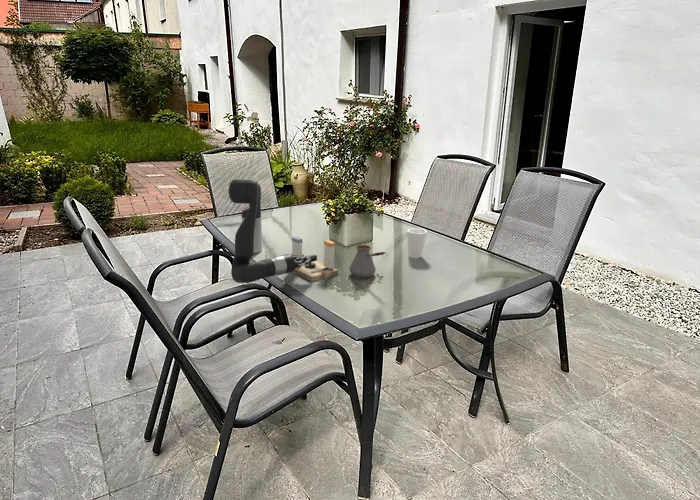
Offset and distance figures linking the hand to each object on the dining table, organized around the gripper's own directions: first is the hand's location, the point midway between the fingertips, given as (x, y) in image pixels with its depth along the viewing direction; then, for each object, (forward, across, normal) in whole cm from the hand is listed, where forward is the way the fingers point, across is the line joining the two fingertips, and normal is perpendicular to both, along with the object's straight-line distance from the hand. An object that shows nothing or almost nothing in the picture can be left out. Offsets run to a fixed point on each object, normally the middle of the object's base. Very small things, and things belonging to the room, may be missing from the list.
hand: (315, 257), depth 196 cm
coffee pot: (+17, -16, +9) cm, 24 cm away
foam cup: (+56, -7, +9) cm, 57 cm away
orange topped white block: (+7, 0, +6) cm, 9 cm away
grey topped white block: (-1, +12, +6) cm, 14 cm away
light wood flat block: (+2, +6, +9) cm, 11 cm away
